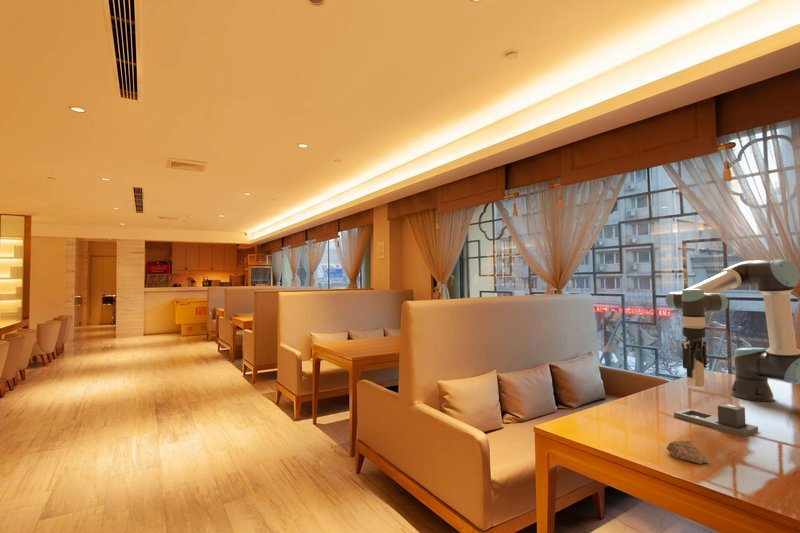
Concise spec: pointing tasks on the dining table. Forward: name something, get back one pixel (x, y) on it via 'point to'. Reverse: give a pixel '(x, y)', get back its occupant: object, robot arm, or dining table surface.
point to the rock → (686, 452)
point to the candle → (699, 373)
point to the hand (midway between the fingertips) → (695, 384)
